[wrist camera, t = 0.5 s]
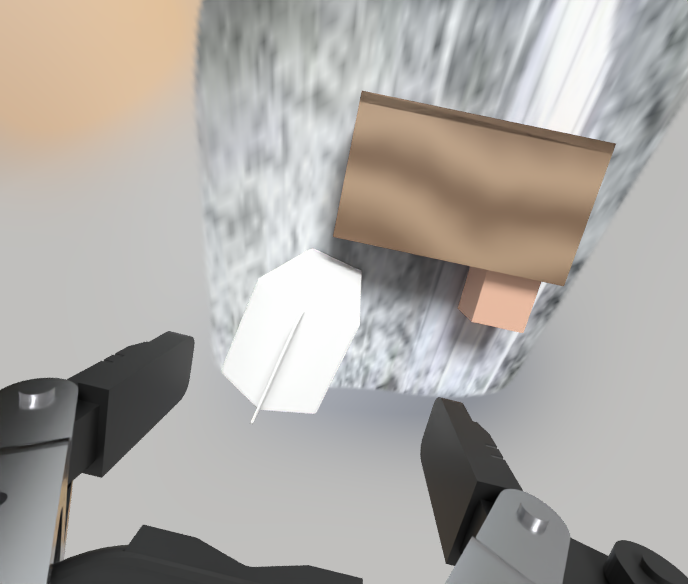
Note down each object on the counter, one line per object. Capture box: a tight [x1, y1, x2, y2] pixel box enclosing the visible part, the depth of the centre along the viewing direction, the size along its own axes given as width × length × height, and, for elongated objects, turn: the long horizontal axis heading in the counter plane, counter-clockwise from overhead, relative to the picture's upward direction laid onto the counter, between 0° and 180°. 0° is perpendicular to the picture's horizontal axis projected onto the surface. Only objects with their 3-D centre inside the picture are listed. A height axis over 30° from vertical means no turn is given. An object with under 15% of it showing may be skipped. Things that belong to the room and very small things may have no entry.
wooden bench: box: [333, 91, 616, 286], centre depth 31 cm, size 12×21×6 cm, turn 78°
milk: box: [221, 248, 362, 424], centre depth 26 cm, size 6×6×22 cm
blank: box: [458, 266, 541, 333], centre depth 33 cm, size 10×5×5 cm, turn 168°
